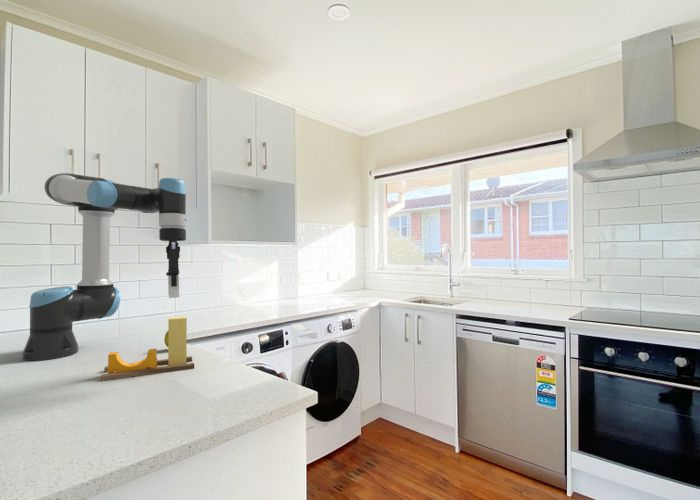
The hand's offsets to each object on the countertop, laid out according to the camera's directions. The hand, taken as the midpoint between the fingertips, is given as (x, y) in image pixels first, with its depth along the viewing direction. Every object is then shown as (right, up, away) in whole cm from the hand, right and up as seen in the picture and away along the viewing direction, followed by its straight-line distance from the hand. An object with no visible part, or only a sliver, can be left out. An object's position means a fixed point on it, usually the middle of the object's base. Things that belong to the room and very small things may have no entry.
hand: (173, 296), depth 115 cm
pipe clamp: (-9, -22, -6) cm, 25 cm away
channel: (-6, -22, -3) cm, 23 cm away
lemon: (-10, -23, +20) cm, 32 cm away
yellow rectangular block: (+1, -22, 0) cm, 22 cm away
